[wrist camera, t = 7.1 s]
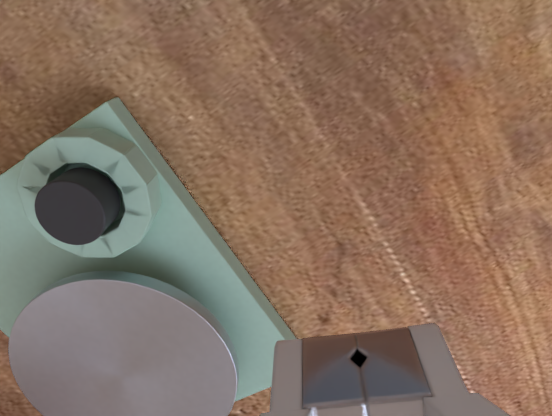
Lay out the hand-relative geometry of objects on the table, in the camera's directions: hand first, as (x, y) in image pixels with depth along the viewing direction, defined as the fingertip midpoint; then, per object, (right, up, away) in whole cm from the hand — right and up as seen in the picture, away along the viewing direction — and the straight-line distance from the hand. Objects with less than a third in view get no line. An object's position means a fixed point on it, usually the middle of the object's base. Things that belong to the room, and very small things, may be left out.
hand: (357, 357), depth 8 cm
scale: (-10, -2, +17) cm, 20 cm away
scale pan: (-9, -6, +15) cm, 18 cm away
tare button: (-10, +3, +11) cm, 15 cm away
